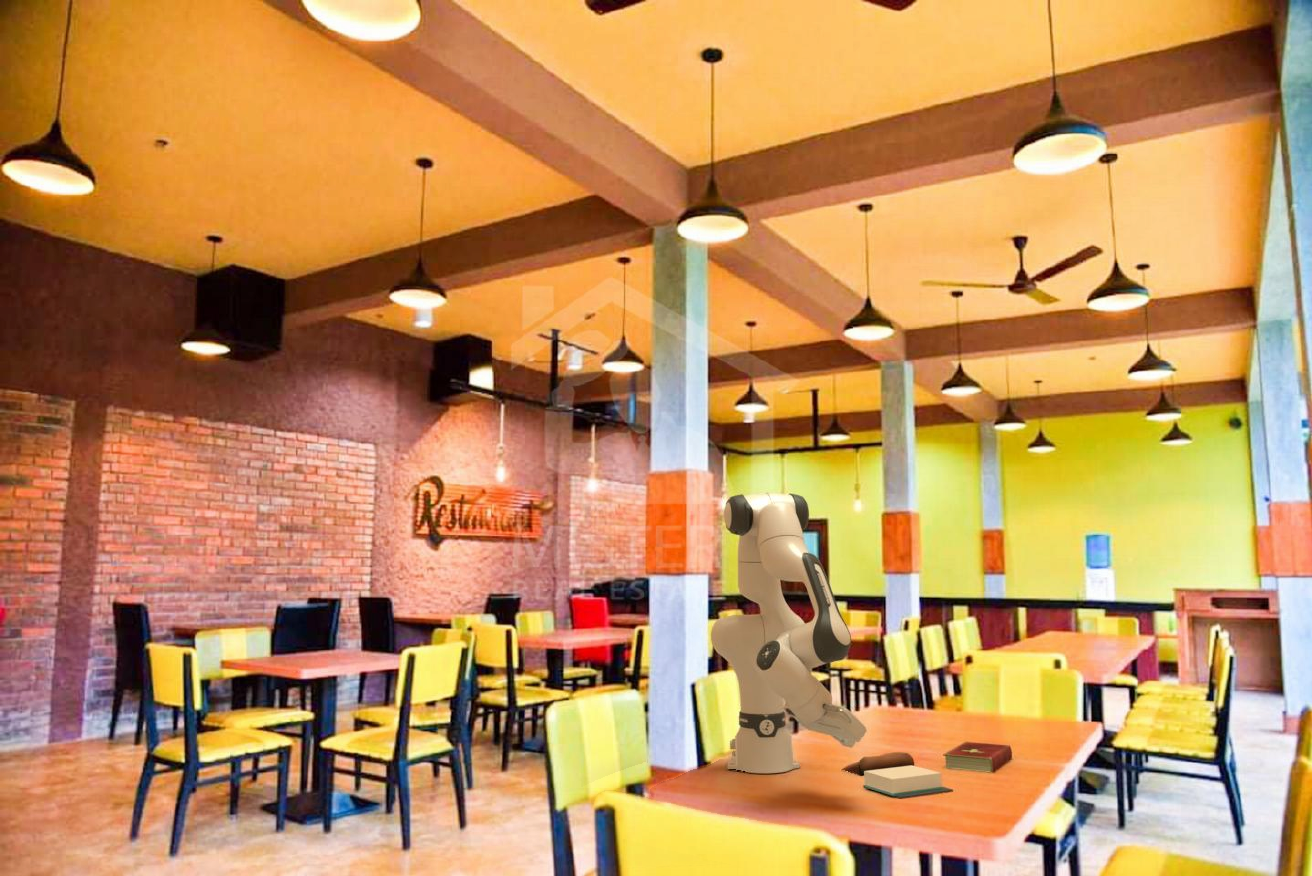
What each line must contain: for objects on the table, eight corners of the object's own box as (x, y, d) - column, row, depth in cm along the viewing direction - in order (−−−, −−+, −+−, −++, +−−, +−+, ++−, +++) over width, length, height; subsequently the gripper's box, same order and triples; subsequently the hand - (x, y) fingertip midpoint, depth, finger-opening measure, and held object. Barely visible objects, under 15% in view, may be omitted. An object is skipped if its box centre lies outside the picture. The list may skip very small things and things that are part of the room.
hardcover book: (1012, 760, 240) (1011, 744, 241) (993, 775, 223) (991, 757, 224) (966, 756, 247) (965, 740, 248) (944, 770, 230) (943, 753, 230)
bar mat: (900, 798, 198) (900, 796, 198) (863, 787, 210) (863, 785, 210) (953, 791, 204) (952, 789, 204) (914, 780, 216) (914, 778, 216)
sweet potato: (891, 762, 238) (899, 741, 236) (909, 780, 232) (917, 759, 230) (838, 770, 229) (846, 748, 227) (855, 789, 223) (863, 767, 221)
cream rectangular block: (892, 779, 200) (941, 773, 206) (863, 771, 209) (911, 765, 215) (892, 796, 199) (942, 789, 205) (864, 787, 208) (912, 780, 214)
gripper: (848, 696, 192) (887, 740, 195) (794, 687, 210) (831, 727, 213) (831, 720, 189) (871, 764, 192) (778, 708, 208) (816, 748, 210)
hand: (849, 744), depth 203 cm, fingers closed
